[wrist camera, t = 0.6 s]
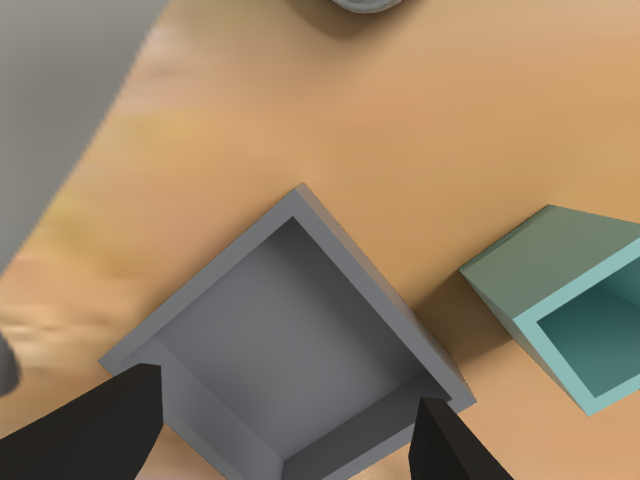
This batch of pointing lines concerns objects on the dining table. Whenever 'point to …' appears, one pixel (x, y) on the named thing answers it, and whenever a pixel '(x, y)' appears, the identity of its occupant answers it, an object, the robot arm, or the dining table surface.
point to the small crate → (569, 299)
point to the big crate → (292, 354)
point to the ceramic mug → (366, 5)
